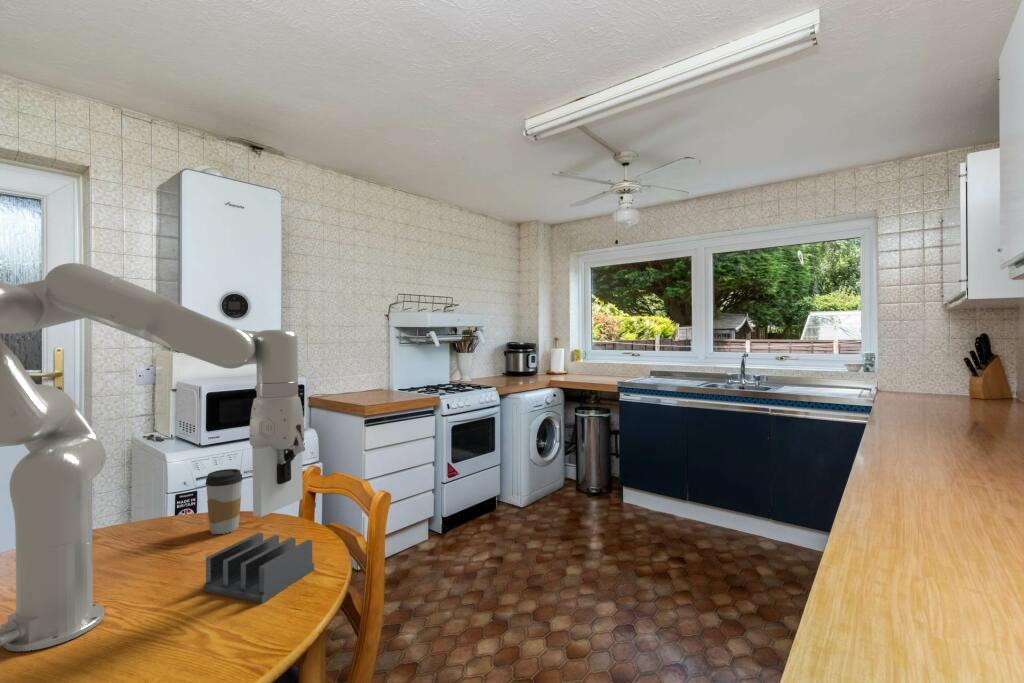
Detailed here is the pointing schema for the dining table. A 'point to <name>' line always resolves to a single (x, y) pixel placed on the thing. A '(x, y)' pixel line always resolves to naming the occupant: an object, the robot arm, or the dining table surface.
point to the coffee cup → (224, 500)
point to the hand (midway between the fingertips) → (278, 481)
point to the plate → (274, 481)
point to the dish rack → (257, 567)
